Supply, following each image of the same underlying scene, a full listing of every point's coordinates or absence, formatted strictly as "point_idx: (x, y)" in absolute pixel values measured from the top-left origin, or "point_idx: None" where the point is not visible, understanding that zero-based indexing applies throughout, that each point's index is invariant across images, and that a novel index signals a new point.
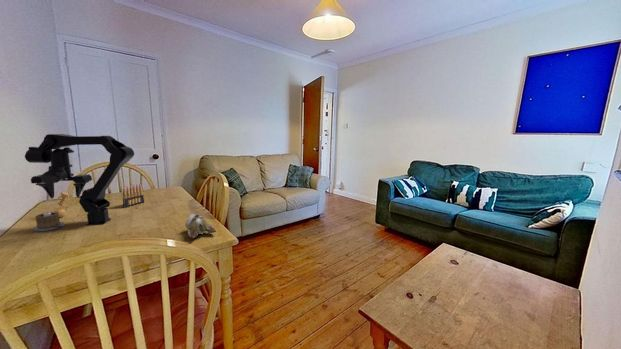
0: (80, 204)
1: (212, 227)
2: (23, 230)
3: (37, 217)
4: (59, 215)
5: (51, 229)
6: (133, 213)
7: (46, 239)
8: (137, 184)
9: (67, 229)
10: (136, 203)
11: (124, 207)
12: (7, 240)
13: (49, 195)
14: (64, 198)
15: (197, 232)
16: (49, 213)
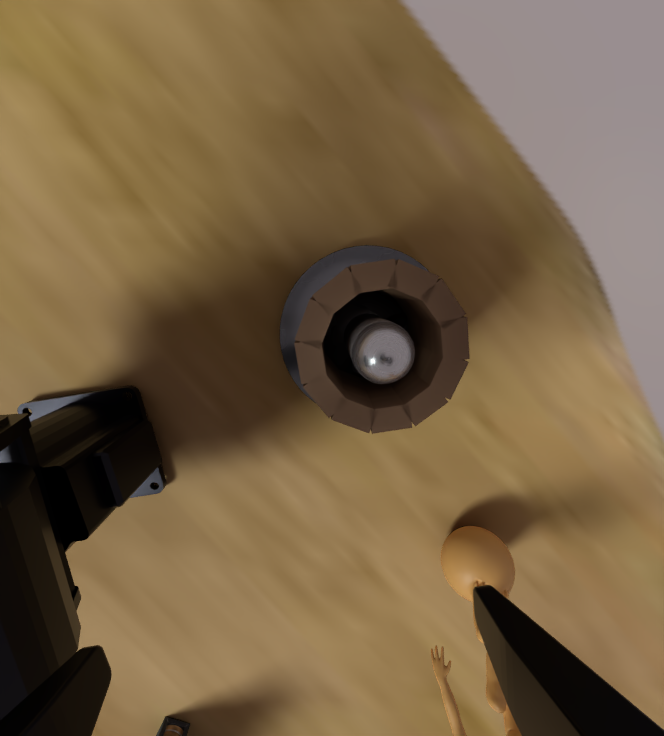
0: (27, 488)
1: None
2: (503, 286)
3: (411, 265)
4: (458, 532)
5: (301, 278)
6: None
7: (182, 91)
8: None
9: (207, 300)
10: None
11: (175, 721)
12: (453, 85)
13: (533, 626)
14: (512, 732)
15: None
16: (362, 355)
